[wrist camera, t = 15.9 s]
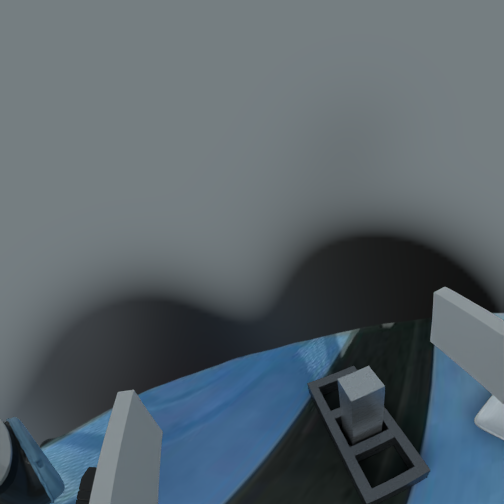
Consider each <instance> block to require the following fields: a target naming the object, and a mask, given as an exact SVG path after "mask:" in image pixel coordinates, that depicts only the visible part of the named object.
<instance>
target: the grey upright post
mask: <svg viewBox="0 0 504 504" xmlns="http://www.w3.org/2000/svg"><path fill="white" fill-rule="evenodd" d="M337 381H338V390H339V399H340V409H341V419H342V430H343V431H344V433H345V435H346V437H347V439H348V441H349V443H350V445H351V446H353V445H356V444H358V443H360V442H363V441H365V440H367V439H369V438H371V437H373V436H375V435H378V434H380V433H382V423H383V411H384V395H385V386H384V384H383V383H382V382H381V381H380V379H379V378H378V377H377V376H376V374H375V373H374V372H373V371H372V369H371V368H370V367H369V366H367V367H365V368H363V369H360V370H358V371H356V372H353V373H351V374H348V375H346V376H343V377H341V378H338V379H337Z"/></svg>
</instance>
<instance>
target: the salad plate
mask: <svg viewBox="0 0 504 504" xmlns="http://www.w3.org/2000/svg"><path fill="white" fill-rule="evenodd" d="M474 422H475V424H476V425H477V426H478V427H479V428H480V429H482V430H484V431H486V432H488V433H490V434H492V435H494V436H496V437H498V438H500V439H502V440H504V404H502V403H501V402H500V401H499V400H498V399H497V398H496V397H495V396H494V395H492V396H491V397H490V398H489V399H488V401H487V402H486V403H485V404H484V406H483V407H482V408H481V410H480V411H479V412H478V414H477V415H476V417H475V419H474Z"/></svg>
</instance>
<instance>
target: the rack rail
mask: <svg viewBox="0 0 504 504" xmlns="http://www.w3.org/2000/svg"><path fill="white" fill-rule="evenodd" d="M356 371H357V369H356V368H355V367H354V366H352V367H349V368H347V369H344V370H342V371H339V372H337V373H334V374H332V375H329V376H327V377H324V378H321V379H319V380H316V381H313V382H310V383H307V384H308V389H309V393H310V395H311V397H312V399H313V401H314V404H315V406H316V408H317V410H318V412H319V414H320V416H321V418H322V420H323V422H324V424H325V427H326V429H327V431H328V433H329V435H330V437H331V439H332V441H333V443H334V445H335V447H336V449H337V452H338V454H339V456H340V458H341V460H342V462H343V464H344V466H345V468H346V470H347V472H348V474H349V476H350V478H351V480H352V482H353V484H354V487H355V489H356V491H357V493H358V495H359V497H360V499H361V501H362V503H363V504H379V503H381V502H383V501H385V500H387V499H389V498H391V497H393V496H395V495H397V494H399V493H401V492H402V491H404V490H406V489H408V488H410V487H411V486H413V485H415V484H417V483H418V482H420V481H422V480H423V479H425V478H427V476H428V474H429V472H430V469H429V467H428V466H427V465H426V463H425V462H424V460H423V459H422V458H421V456H420V455H419V454H418V452H417V451H416V449H415V448H414V447H413V445H412V444H411V442H410V441H409V440H408V438H407V437H406V436H405V434H404V433H403V431H402V430H401V429H400V427H399V426H398V425H397V423H396V422H395V421H394V419H393V418H392V416H391V415H390V414H389V412H388V411H387V410H386V408H385V407H384V411H383V423H382V429H383V431H384V432H382V433H380V434H378V435H375V436H373V437H371V438H369V439H367V440H365V441H363V442H360V443H358V444H356V445H353V446H351V447H349V445H348V443H347V441H346V439H345V437H344V435H343V433H342V432H341V430H340V428H339V426H341V425H342V419H341V409H340V408H337V409H335V410H332V411H330V409H329V407H328V405H327V403H326V401H325V399H324V397H323V395H325V394H328V393H331V392H333V391H336V390H338V381H337V379H338V378H341V377H343V376H346V375H348V374H351V373H353V372H356ZM391 446H394V447H395V449H396V450H397V452H398V453H399V455H400V456H401V458H402V459H403V461H404V462H405V464H406V465H407V467H408V468H409V470H407V471H406V472H404V473H402V474H400V475H398V476H396V477H395V478H393V479H391V480H389V481H387V482H385V483H383V484H381V485H378V486H376V487H374V488H371V486H370V484H369V482H368V481H367V479H366V477H365V475H364V473H363V471H362V469H361V467H360V466H359V464H358V462H359V461H362V460H364V459H366V458H368V457H370V456H373V455H375V454H377V453H379V452H381V451H383V450H385V449H387V448H389V447H391Z"/></svg>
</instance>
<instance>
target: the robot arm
mask: <svg viewBox="0 0 504 504" xmlns="http://www.w3.org/2000/svg"><path fill="white" fill-rule="evenodd" d="M430 342H432V343H433V344H434V345H435V346H437V347H438V348H439V349H440V350H441V351H443V352H444V353H445V354H446V355H447V356H449V357H450V358H451V359H452V360H453V361H454V362H456V363H457V364H458V365H459V366H460V367H462V368H463V369H464V370H465V371H466V372H467V373H469V374H470V375H471V376H472V377H473V378H474V379H475V380H477V381H478V382H479V383H480V384H481V385H482V386H483V387H485V388H486V389H487V390H488V391H489V392H490V393H491V394H492V395H494V396H495V397H496V398H497V399H498V400H499V401H500V402H501V403H502V404H504V320H502V319H500V318H499V317H497V316H495V315H494V314H492V313H490V312H489V311H487V310H485V309H484V308H482V307H480V306H479V305H477V304H475V303H473V302H472V301H470V300H468V299H466V298H465V297H463V296H461V295H459V294H457V293H456V292H454V291H452V290H450V289H449V288H447V287H443V288H441V289H439V290H438V291H436V292H434V300H433V316H432V328H431V338H430ZM162 433H163V432H162V430H161V429H160V427H159V426H158V425H157V423H156V422H155V420H154V419H153V418H152V416H151V415H150V413H149V412H148V410H147V409H146V407H145V406H144V405H143V403H142V401H141V400H140V398H139V397H138V395H137V394H136V392H135V391H134V390H129V391H122V392H118V394H117V397H116V400H115V404H114V406H113V410H112V413H111V417H110V420H109V423H108V427H107V430H106V434H105V438H104V441H103V445H102V449H101V453H100V457H99V461H98V465H97V468H96V467H89V468H88V469H87V471H86V472H85V474H84V475H83V477H82V479H81V483H80V487H79V490H80V491H78V495H77V499H78V500H76V504H158V488H159V470H160V456H161V444H162ZM64 488H65V487H64V483H63V481H62V479H61V477H60V476H59V474H58V473H57V471H56V470H55V468H54V467H53V466H52V464H51V463H50V461H49V460H48V458H47V457H46V456H45V454H44V453H43V451H42V450H41V449H40V447H39V446H38V444H37V443H36V442H35V440H34V439H33V438H32V436H31V435H30V433H29V432H28V430H27V429H26V428H25V426H24V425H23V424H22V422H21V421H20V420H19V419H18V418H16V417H13V418H11V419H9V418H8V419H7V420H6V422H5V423H4V422H3V421H2V420H1V419H0V504H49V503H53V502H54V500H55V499H56V498H57V497H59V496H60V495H61V494H62V493H63V492H64Z"/></svg>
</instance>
